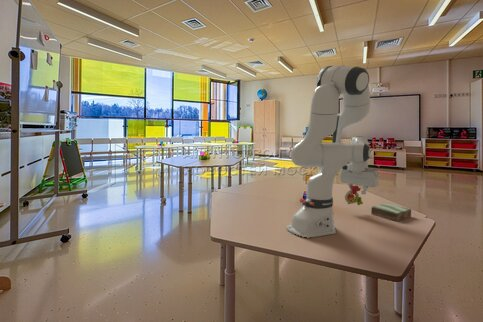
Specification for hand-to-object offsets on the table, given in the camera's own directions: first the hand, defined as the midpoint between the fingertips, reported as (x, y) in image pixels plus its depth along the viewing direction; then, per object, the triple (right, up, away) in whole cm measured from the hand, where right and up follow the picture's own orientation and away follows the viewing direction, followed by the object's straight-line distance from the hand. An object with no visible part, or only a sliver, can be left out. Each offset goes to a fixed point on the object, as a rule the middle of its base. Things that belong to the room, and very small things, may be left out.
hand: (357, 193), depth 134 cm
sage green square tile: (+16, -11, -3) cm, 20 cm away
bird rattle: (-2, -6, +2) cm, 7 cm away
